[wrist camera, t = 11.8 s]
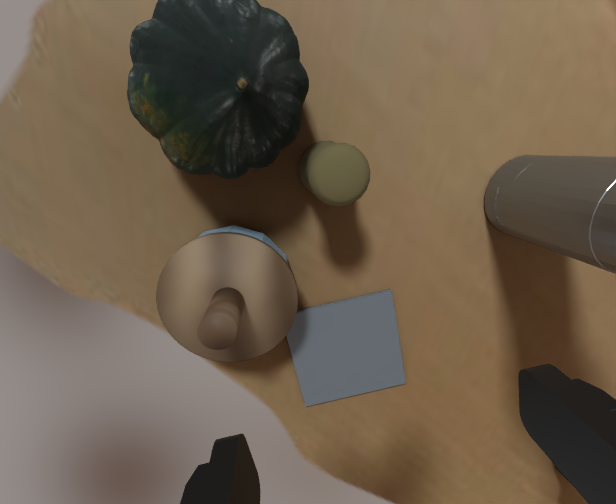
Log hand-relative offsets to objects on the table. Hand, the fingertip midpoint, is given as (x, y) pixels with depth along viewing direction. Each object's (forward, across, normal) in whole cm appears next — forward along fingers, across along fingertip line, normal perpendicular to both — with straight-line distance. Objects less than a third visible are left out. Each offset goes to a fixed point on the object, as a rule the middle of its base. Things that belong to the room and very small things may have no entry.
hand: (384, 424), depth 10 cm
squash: (+30, +5, -14) cm, 34 cm away
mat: (+30, -1, +18) cm, 35 cm away
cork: (+30, -3, -5) cm, 31 cm away
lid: (+24, +10, +5) cm, 27 cm away
